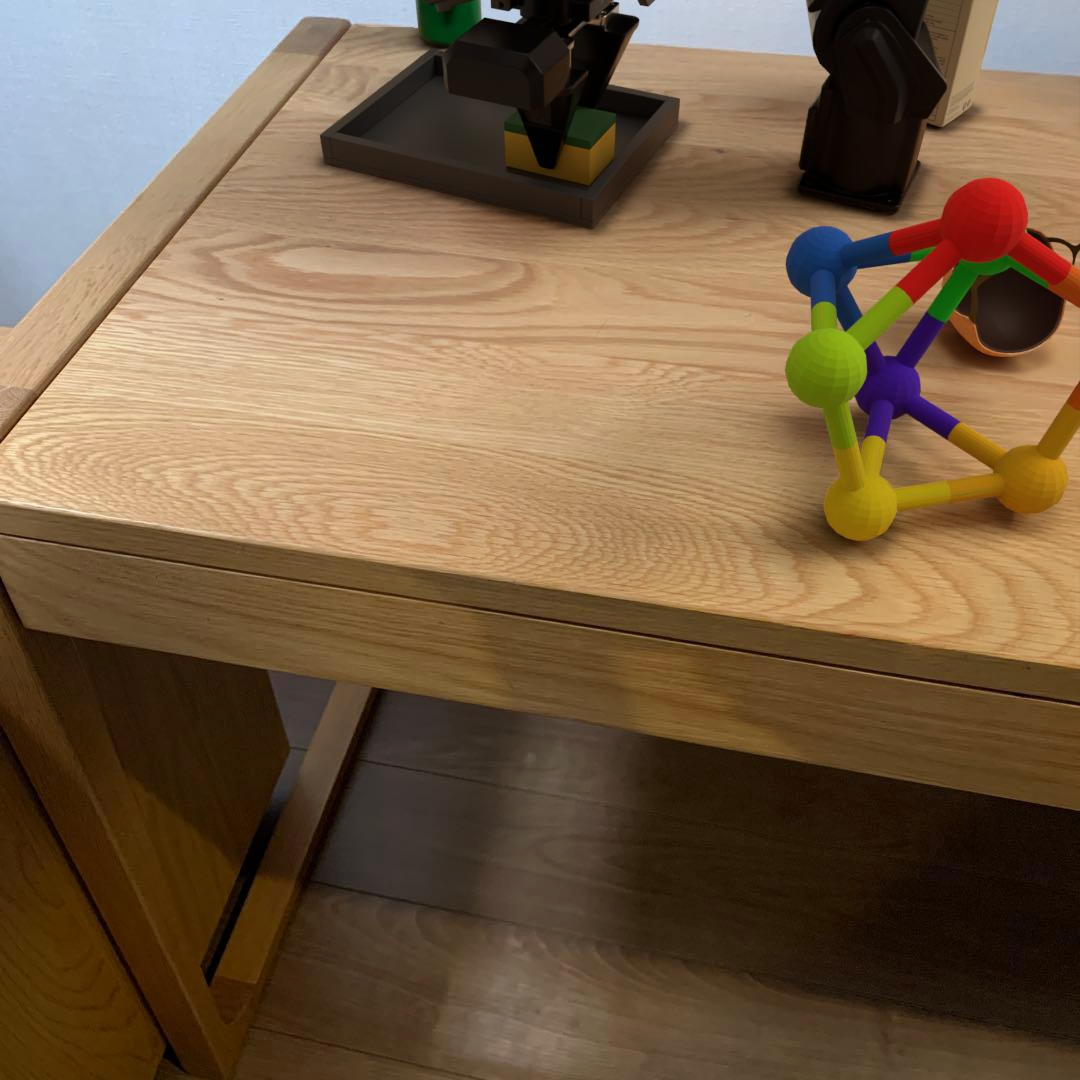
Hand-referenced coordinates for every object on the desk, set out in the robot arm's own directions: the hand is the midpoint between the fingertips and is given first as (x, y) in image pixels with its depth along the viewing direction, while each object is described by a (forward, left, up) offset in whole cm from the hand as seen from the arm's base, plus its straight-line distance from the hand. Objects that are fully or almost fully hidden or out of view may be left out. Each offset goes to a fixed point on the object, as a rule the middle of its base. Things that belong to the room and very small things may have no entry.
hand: (561, 152), depth 69 cm
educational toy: (-25, +19, -1) cm, 32 cm away
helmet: (-30, +10, +6) cm, 32 cm away
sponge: (0, 0, -1) cm, 1 cm away
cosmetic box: (-19, -18, -1) cm, 27 cm away
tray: (+5, -1, -1) cm, 5 cm away
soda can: (+17, -15, -1) cm, 23 cm away
